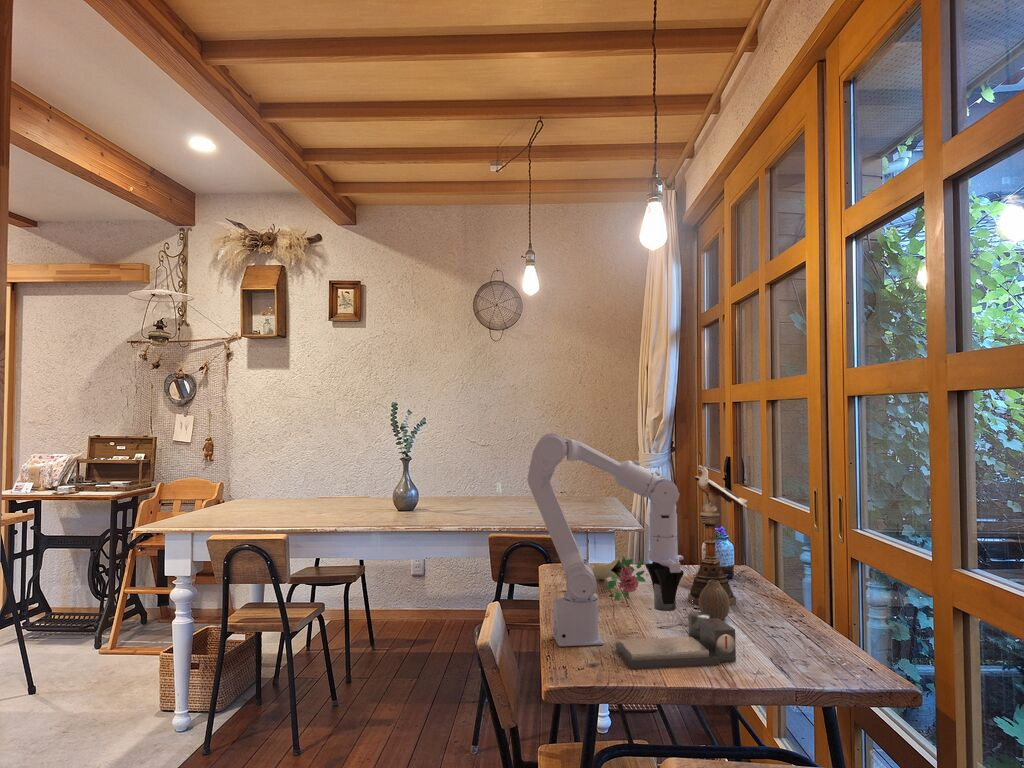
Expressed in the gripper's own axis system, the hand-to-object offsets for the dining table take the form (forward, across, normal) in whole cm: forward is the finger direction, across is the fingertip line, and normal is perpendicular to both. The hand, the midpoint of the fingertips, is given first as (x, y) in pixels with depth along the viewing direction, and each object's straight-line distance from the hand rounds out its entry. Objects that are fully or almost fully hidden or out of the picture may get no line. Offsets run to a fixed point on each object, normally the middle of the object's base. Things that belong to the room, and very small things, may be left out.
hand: (664, 600), depth 151 cm
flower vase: (+9, +43, -1) cm, 44 cm away
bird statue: (+8, +31, -25) cm, 40 cm away
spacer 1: (+2, 0, 0) cm, 2 cm away
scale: (+8, -10, +1) cm, 13 cm away
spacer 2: (+8, +1, -8) cm, 11 cm away
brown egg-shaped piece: (+9, +15, -17) cm, 24 cm away
